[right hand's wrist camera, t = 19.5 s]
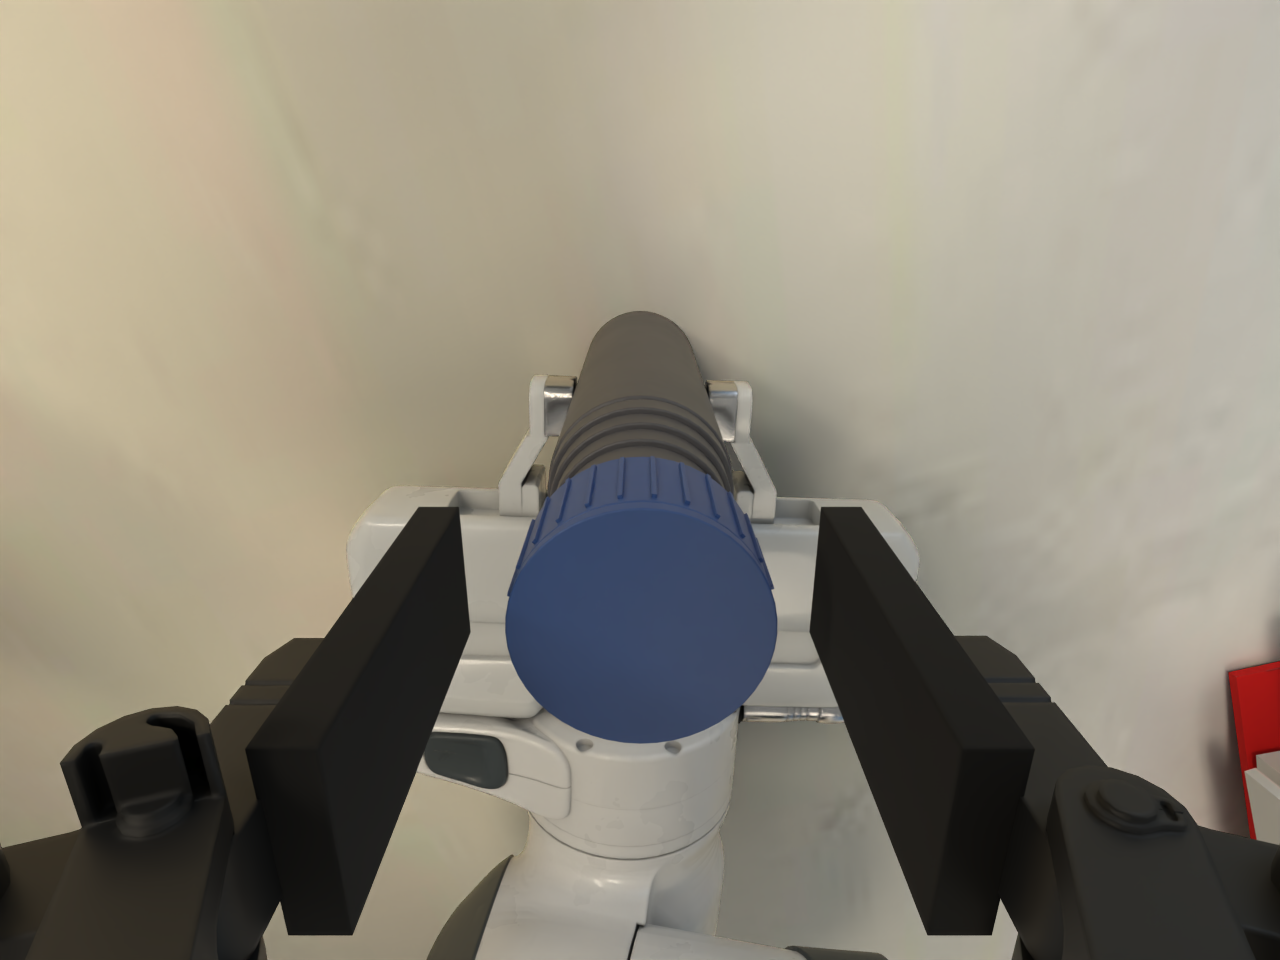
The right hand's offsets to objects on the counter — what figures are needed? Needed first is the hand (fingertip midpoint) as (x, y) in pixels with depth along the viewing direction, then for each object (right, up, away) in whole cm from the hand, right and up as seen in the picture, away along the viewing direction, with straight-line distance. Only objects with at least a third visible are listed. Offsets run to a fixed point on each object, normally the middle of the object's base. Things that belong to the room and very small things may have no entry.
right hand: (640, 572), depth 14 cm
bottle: (0, +7, +18) cm, 19 cm away
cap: (0, -1, -2) cm, 2 cm away
